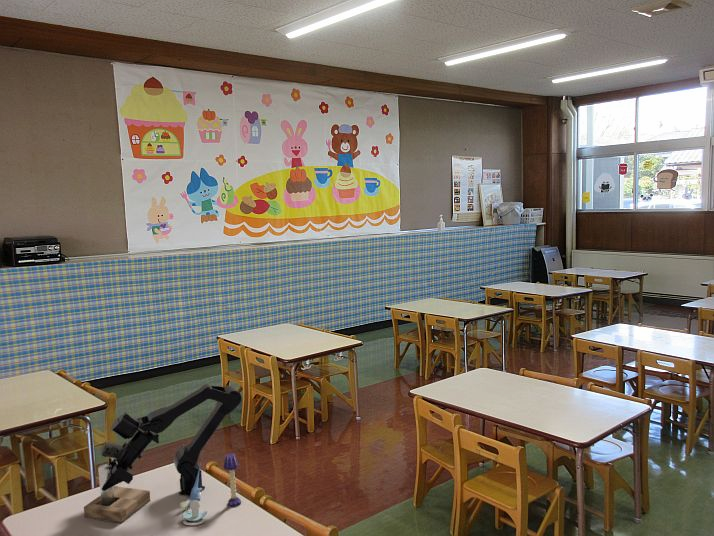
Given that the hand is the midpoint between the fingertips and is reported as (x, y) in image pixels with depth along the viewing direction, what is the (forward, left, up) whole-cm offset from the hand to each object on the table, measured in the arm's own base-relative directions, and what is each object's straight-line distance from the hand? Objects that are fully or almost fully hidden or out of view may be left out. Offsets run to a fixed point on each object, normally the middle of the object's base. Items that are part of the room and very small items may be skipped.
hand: (102, 487), depth 188 cm
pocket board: (-3, -3, -8) cm, 9 cm away
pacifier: (-31, -3, -9) cm, 33 cm away
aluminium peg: (-1, -1, -7) cm, 7 cm away
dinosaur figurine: (-25, -12, -9) cm, 29 cm away
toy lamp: (-38, -15, -9) cm, 42 cm away
